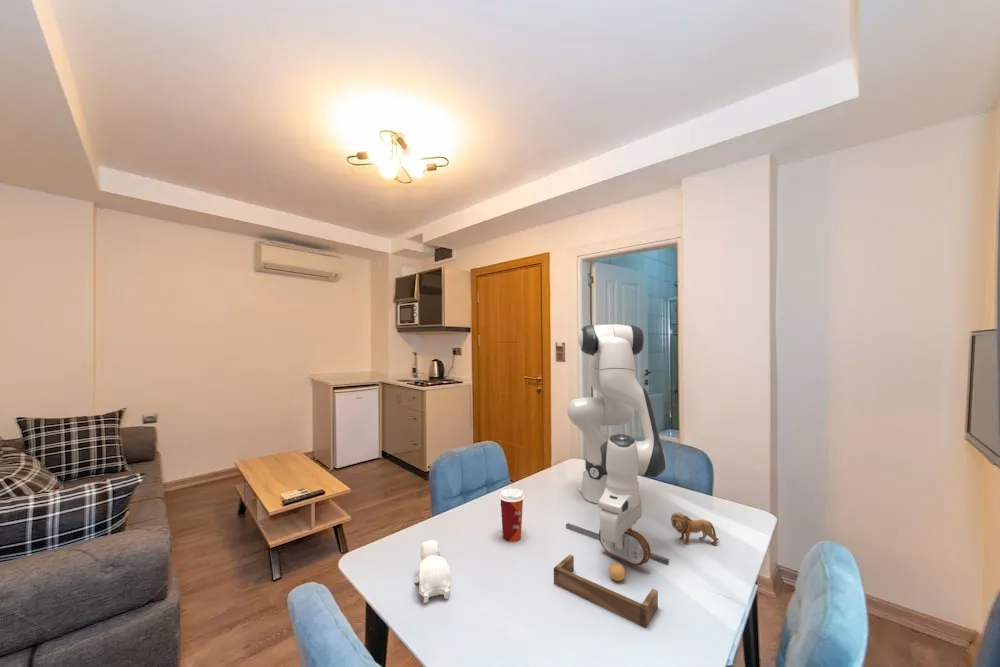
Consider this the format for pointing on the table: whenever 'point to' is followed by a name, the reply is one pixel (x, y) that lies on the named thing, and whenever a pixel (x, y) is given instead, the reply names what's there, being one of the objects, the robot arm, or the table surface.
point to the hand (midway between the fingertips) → (622, 544)
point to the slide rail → (596, 536)
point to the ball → (616, 571)
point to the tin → (629, 548)
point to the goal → (605, 594)
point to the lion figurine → (692, 527)
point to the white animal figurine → (433, 572)
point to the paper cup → (511, 514)
